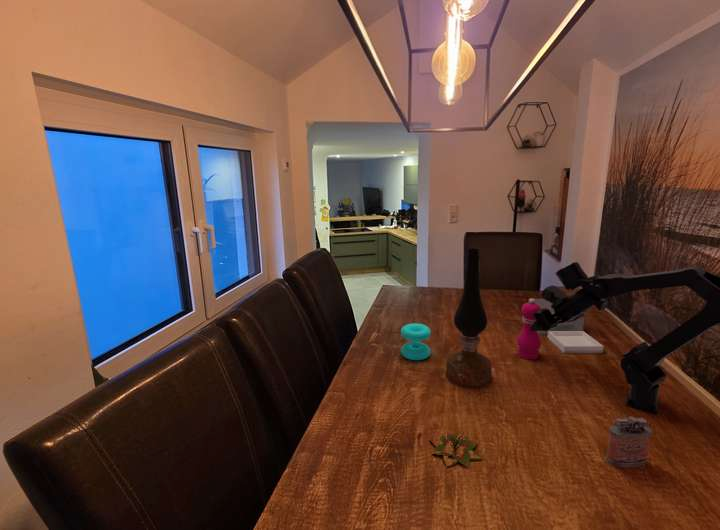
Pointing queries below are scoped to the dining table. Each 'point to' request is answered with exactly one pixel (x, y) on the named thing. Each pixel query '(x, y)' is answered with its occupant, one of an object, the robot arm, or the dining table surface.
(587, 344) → the tray
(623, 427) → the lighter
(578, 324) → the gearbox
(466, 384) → the oil lamp
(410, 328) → the turquoise spool
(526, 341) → the pepper mill
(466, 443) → the green leafy cluster
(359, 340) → the dining table surface
